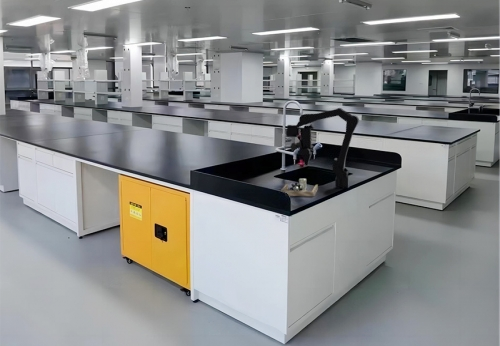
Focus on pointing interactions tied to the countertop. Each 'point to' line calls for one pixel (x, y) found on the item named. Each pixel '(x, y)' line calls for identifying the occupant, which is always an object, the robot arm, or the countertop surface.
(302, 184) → the valve
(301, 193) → the holding jig
